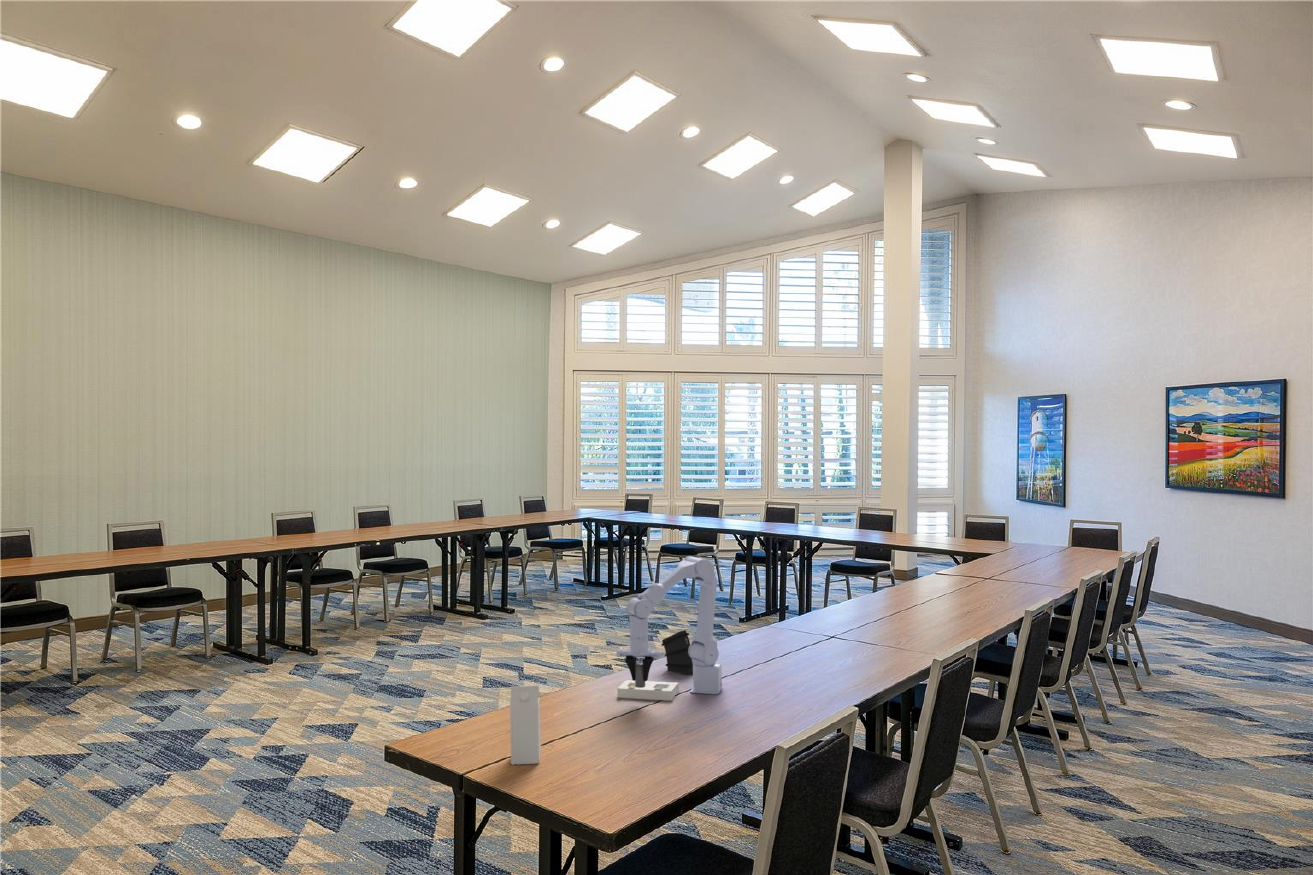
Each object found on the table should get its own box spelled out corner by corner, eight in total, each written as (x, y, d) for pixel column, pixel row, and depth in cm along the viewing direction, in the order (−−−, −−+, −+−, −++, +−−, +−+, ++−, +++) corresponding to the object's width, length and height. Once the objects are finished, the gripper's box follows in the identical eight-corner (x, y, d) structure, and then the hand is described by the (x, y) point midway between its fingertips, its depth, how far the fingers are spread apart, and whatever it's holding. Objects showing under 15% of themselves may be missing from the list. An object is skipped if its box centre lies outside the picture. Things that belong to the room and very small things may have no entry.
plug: (646, 685, 265) (645, 662, 265) (643, 687, 262) (643, 665, 262) (636, 684, 266) (636, 662, 266) (633, 687, 263) (633, 665, 263)
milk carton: (513, 755, 220) (512, 683, 221) (540, 753, 221) (539, 681, 221) (511, 765, 213) (509, 690, 214) (539, 763, 214) (537, 689, 214)
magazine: (694, 672, 293) (680, 631, 298) (670, 682, 302) (657, 642, 307) (701, 670, 296) (687, 629, 301) (677, 680, 304) (664, 640, 309)
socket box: (678, 691, 276) (678, 681, 276) (671, 700, 266) (671, 690, 266) (626, 688, 280) (626, 678, 280) (617, 697, 271) (617, 687, 271)
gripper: (613, 638, 262) (614, 682, 262) (658, 640, 259) (659, 684, 258) (620, 634, 269) (621, 676, 269) (663, 635, 265) (664, 678, 265)
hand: (640, 680), depth 264 cm, fingers closed on plug, 3 cm apart
